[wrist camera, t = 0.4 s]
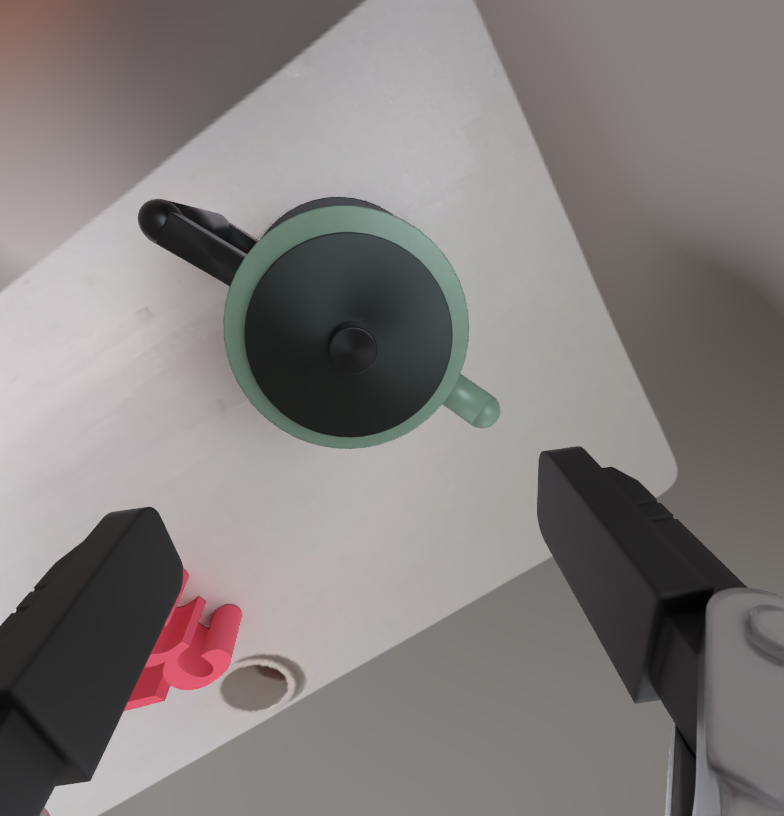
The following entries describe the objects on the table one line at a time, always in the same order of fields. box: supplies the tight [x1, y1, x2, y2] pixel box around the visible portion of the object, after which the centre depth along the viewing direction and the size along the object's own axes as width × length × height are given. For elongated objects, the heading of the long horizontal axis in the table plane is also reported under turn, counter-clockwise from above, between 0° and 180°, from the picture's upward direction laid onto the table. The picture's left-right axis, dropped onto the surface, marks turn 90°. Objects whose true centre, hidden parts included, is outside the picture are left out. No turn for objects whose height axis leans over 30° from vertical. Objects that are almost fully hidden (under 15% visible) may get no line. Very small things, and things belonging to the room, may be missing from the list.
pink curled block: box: [124, 569, 242, 711], centre depth 39 cm, size 14×10×5 cm
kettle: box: [138, 199, 500, 449], centre depth 24 cm, size 19×11×15 cm, turn 57°
